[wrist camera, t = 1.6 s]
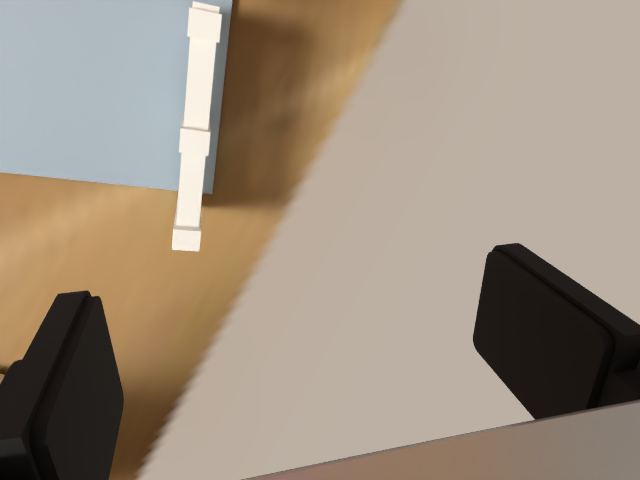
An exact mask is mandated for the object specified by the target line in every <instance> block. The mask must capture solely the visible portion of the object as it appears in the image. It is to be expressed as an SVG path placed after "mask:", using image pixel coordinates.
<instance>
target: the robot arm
mask: <svg viewBox="0 0 640 480" xmlns="http://www.w3.org/2000/svg"><path fill="white" fill-rule="evenodd" d="M473 343H474V346H475V348H476V350H477V352H478V353H479V354H480V355H481V356H482V358H483V359H484V360H485V361H486V362H487V364H488V365H489V366H490V367H491V368H492V369H493V371H494V372H495V373H496V374H497V375H498V376H499V378H500V379H501V380H502V381H503V382H504V383H505V385H506V386H507V387H508V388H509V389H510V391H511V392H512V393H513V394H514V395H515V396H516V398H517V399H518V400H519V401H520V402H521V403H522V405H523V406H524V407H525V408H526V409H527V411H528V412H529V413H530V414H531V415H532V416H533V418H534V419H535V420H533V421H527V422H522V423H517V424H512V425H506V426H502V427H496V428H491V429H486V430H481V431H476V432H471V433H467V434H461V435H456V436H451V437H446V438H442V439H437V440H431V441H427V442H422V443H417V444H412V445H407V446H402V447H397V448H392V449H388V450H382V451H377V452H372V453H367V454H363V455H358V456H353V457H348V458H343V459H338V460H334V461H329V462H324V463H319V464H315V465H310V466H305V467H300V468H295V469H290V470H286V471H281V472H276V473H271V474H266V475H262V476H257V477H252V478H247V479H242V480H640V325H639V324H637V323H636V322H635V321H633V320H631V319H630V318H628V317H627V316H626V315H624V314H623V313H621V312H620V311H618V310H617V309H615V308H614V307H612V306H611V305H610V304H608V303H607V302H605V301H604V300H602V299H600V298H599V297H598V296H596V295H595V294H593V293H592V292H590V291H589V290H587V289H585V287H583V286H581V285H580V284H579V283H577V282H576V281H574V280H573V279H571V278H570V277H568V276H567V275H565V274H564V273H562V272H561V271H559V270H558V269H557V268H555V267H553V266H552V265H551V264H549V263H548V262H546V261H545V260H543V259H542V258H540V257H539V256H537V255H536V254H535V253H533V252H531V251H530V250H529V249H527V248H526V247H524V246H523V245H521V244H519V243H514V244H505V245H497V246H495V247H494V249H493V250H492V252H489V253H488V255H487V258H486V264H485V270H484V276H483V281H482V287H481V293H480V299H479V305H478V311H477V316H476V322H475V328H474V334H473ZM123 403H124V398H123V390H122V386H121V382H120V377H119V373H118V369H117V365H116V360H115V356H114V352H113V348H112V343H111V339H110V335H109V331H108V326H107V322H106V318H105V314H104V310H103V305H102V301H101V299H100V297H99V296H94V297H92V296H91V294H90V292H89V291H79V292H70V293H61V294H58V295H57V296H56V298H55V300H54V302H53V304H52V306H51V307H50V309H49V311H48V313H47V315H46V317H45V319H44V320H43V322H42V324H41V326H40V328H39V330H38V332H37V333H36V335H35V337H34V339H33V341H32V343H31V345H30V346H29V348H28V350H27V352H26V354H25V356H24V358H23V359H22V360H18V361H15V362H13V364H12V365H11V366H10V368H9V369H8V371H7V373H6V375H4V374H0V480H108V479H109V474H110V469H111V465H112V460H113V455H114V450H115V445H116V440H117V435H118V431H119V426H120V421H121V416H122V411H123Z"/></svg>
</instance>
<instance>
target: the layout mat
mask: <svg viewBox="0 0 640 480" xmlns="http://www.w3.org/2000/svg"><path fill="white" fill-rule="evenodd" d="M193 1H194V2H199V3H204V4H208V5H213V6H217V7H220V9H219V14H222V20H221V30H220V40H219V43H218V42H216V51H215V62H214V72H213V83H212V93H211V104H210V115H209V118H210V132H211V133H210V144H209V154H208V156H206V157H205V168H204V178H203V189H202V193H204V194H212V192H213V183H214V173H215V163H216V154H217V144H218V134H219V125H220V115H221V105H222V96H223V86H224V76H225V67H226V57H227V47H228V38H229V28H230V18H231V9H232V0H0V172H4V173H14V174H23V175H33V176H42V177H52V178H61V179H71V180H80V181H90V182H100V183H109V184H119V185H128V186H138V187H147V188H157V189H166V190H176V191H179V180H180V167H181V153H180V152H179V143H180V129H181V124H182V119H183V115H184V110H185V99H186V85H187V72H188V58H189V45H190V37H188V36H187V31H188V17H189V7H190V8H192V4H193Z"/></svg>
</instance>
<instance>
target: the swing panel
mask: <svg viewBox="0 0 640 480" xmlns="http://www.w3.org/2000/svg"><path fill="white" fill-rule="evenodd" d="M219 9H220V7H217V6H213V5H208V4H204V3H199V2H194V1H193V4H192V8H190V7H189V17H188V31H187V36H188V37H190V45H189V58H188V72H187V85H186V99H185V110H184V115H183V119H182V124H181V129H180V143H179V152H180V153H181V167H180V180H179V193H178V200H177V207H176V214H175V221H174V228H173V241H172V249H173V250H187V251H199V247H200V237H201V199H202V189H203V178H204V168H205V157H206V156H208V154H209V144H210V133H211V132H210V118H209V115H210V104H211V93H212V83H213V72H214V62H215V51H216V42H218V43H219V40H220V30H221V20H222V14H219Z"/></svg>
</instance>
